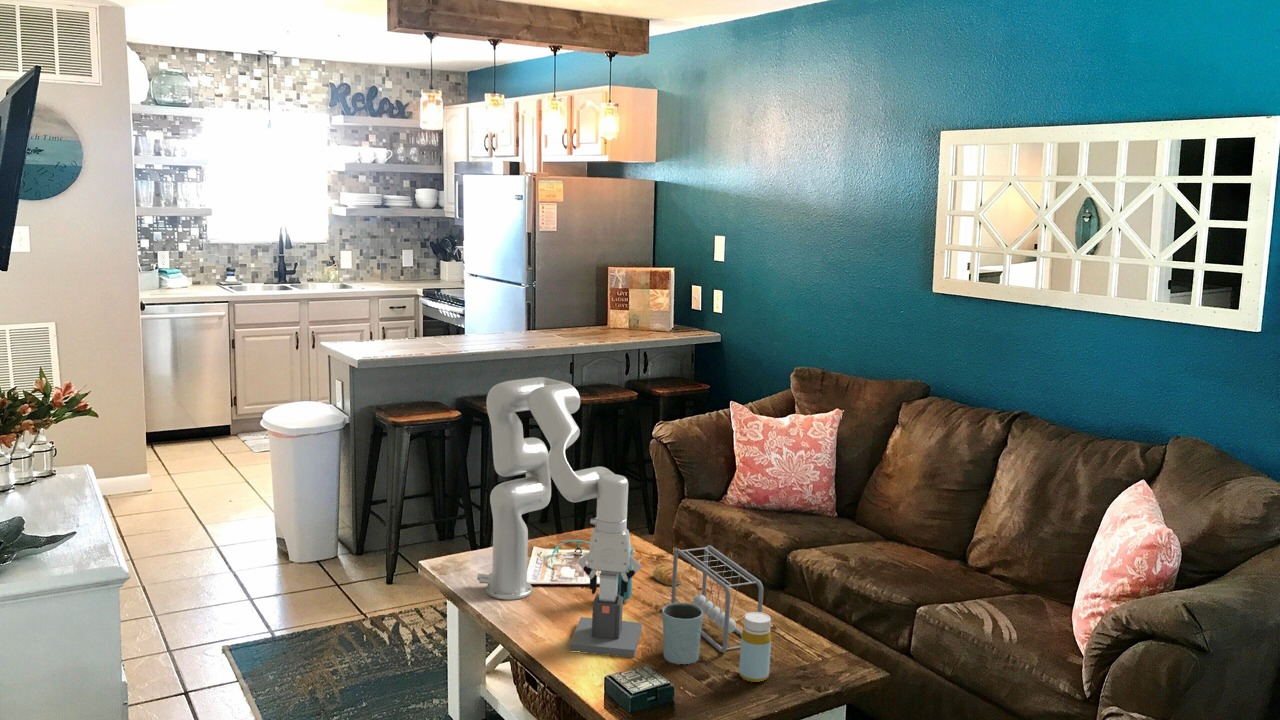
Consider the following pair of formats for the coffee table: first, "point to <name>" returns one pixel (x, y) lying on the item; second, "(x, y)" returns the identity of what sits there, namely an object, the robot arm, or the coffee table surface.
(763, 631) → the bottle
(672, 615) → the grey cup
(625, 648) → the stand base
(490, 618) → the coffee table surface
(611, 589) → the stand column
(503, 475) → the robot arm
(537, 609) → the coffee table surface
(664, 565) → the pastry
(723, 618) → the newton's cradle
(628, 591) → the beverage bottle
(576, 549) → the teal thin curved band
